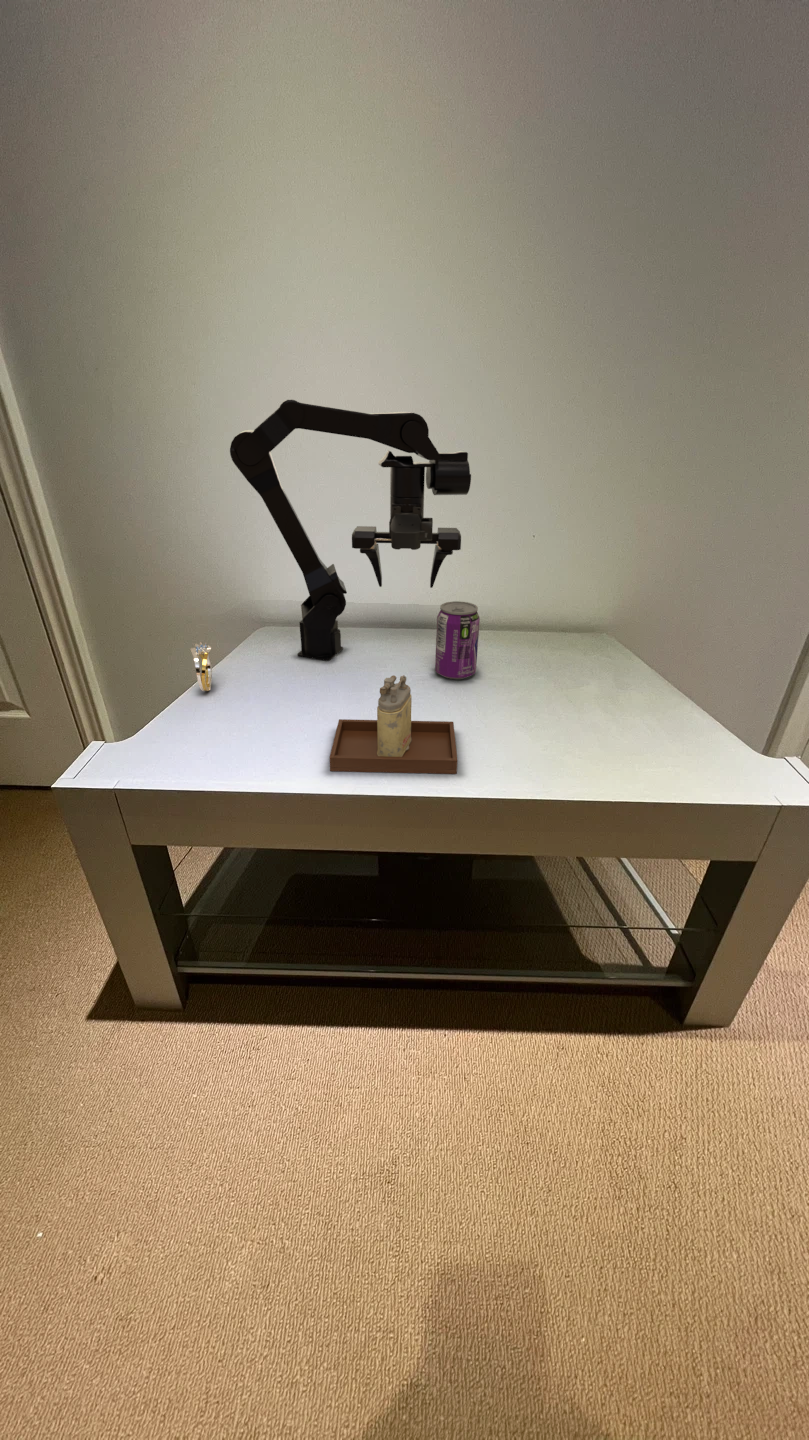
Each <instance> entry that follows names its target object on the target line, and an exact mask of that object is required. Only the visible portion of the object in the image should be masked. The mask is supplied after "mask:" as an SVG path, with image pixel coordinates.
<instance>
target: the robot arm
mask: <svg viewBox="0 0 809 1440" xmlns="http://www.w3.org/2000/svg"><path fill="white" fill-rule="evenodd" d="M298 429H299V430H300V429H301V430H306V431H313V432H321V433H325V434H326V433H328V434H332V435H341V436H347V437H352V438H353V437H354V438H359V439H368V440H371V441H373V442H376V443H379V444H382V445H383V446H387V447H390V448H392V449H396V450H399V451H401V452H404V453H408V454H415V455H416V456H417V457H420V458H423V459H424V460H428V461H414V458H413V457H412V455H394V453H393V452H392V451H391V450H386V453H385V454H384V456H383V457H381V458H380V460H378V462H377V463H378V466H380V467H381V468H389V469H390V470H389V471H390V472H389V474H390V477H389V483H390V484H389V485H390V487H389V490H390V491H389V495H390V496H389V506H390V507H389V508H390V509H389V511H390V512H389V513H390V514H389V516H390V518H389V522H388V531H377V526H374V525H373V526H372V525H371V526H367V525H364V526H363V525H358V526H356V527H355V528H354V529H353V532H352V534H351V548H352V549H356V550H357V549H359V553H360V554H364V555H366V557H367V558H368V560H369V562H370V564H371V566H372V569H373V572H374V575H375V578H376V580H377V584H378V586H379V588H382V587H383V574H382V565H381V556H380V546H379V544H391V548H392V549H393V550H401V549H403V550H404V549H405V550H406V549H407V550H409V549H410V550H412V551H416V550H419V549H421V545H434V550H433V558H432V563H431V564H432V565H431V571H430V577H429V578H430V579H429V587H430V589H431V588H433V587H434V585H435V581H436V579H437V576H438V574H439V570H440V568H441V566H442V564H443V562H444V560H445V558H446V557H447V556H450V555H451V556H452V555H453V553H454V551H461V550H462V549H461V548H462V534H461V531H460V530H459V529H458V528H457V527H437V532H433V528H434V527H433V523H434V522H433V520H434V519H433V517H424V515H425V514H424V513H425V486H426V488H427V490H431V493H432V495H433V496H466V495H468V494H469V491H470V488H471V484H472V483H471V482H472V473H471V469H470V468H471V467H470V463H469V460H468V459H469V453H468V452H467V451H464V450H461V451H460V450H458V451H455V452H439V451H438V450H437V447H436V446H435V445H434V443H433V441H432V440H431V438H430V437H429V436H430V434H429V433H430V432H429V429H430V428H429V426H428V423H427V421H426V420H425V418H424V417H423V416H422V415H421V414H418V413H417V412H416V413H415V412H409V411H391V412H372V413H371V412H370V413H367V412H361V411H355V410H349V409H343V408H336V407H330V406H323V405H318V404H312V403H305V402H300V401H297V400H295V399H286V400H284V401H282V403H280V405H279V407H278V408H277V409H276V410H274V412H272V413H271V414H270V415H269V416H268V417H267V418H266V419H264V420H263V421H262V422H261V423H260V424H258V426H257V427H255V428H254V429H245V430H242V431H240V432H239V433H237V434H236V435H235V436H234V437H233V439H232V441H231V442H230V446H229V447H230V448H229V454H230V458H231V461H232V462H233V464H234V465H235V467H236V468H237V470H239V472H240V474H242V476H243V477H244V478H245V479H246V481H247V482H248V484H249V485H251V487H252V488H253V489H254V490H255V491H256V492H257V494H258V495H259V496H260V498H261V499H262V501H263V502H264V505H265V507H266V508H267V510H268V512H269V514H270V516H271V517H272V519H273V521H274V523H275V525H276V526H277V528H278V531H279V532H280V534H281V536H282V538H283V539H284V541H285V543H286V545H287V547H288V549H289V550H290V552H291V554H292V556H293V558H294V560H295V562H296V563H297V565H298V567H299V569H300V571H301V572H302V575H303V578H304V579H303V580H304V582H305V585H306V588H307V591H308V594H309V595H308V596H307V598H306V599H305V600H304V601H303V602H302V603H301V604H300V610H301V619H302V620H300V621H299V637H300V649H301V650H300V651H299V652H298V653H297V657H299V658H305V659H312V660H317V661H324V662H329V661H331V660H333V658H335V657H336V656H337V655H338V654H339V653H340V652H341V651H343V650H344V649H343V648H344V647H343V646H342V637H341V635H342V633H341V629H339V622H338V620H337V618H338V617H339V616H340V615H342V614H343V612H344V611H345V609H346V605H347V600H346V596H345V595H346V594H347V592H348V591H347V588H346V585H345V583H344V581H343V580H342V579H341V578H340V576H338V575H339V574H338V573H337V569H336V566H335V564H334V563H332V564H331V565H329V566H328V567H327V566H326V564H325V563H324V562H323V561H322V559H321V558H320V557H319V555H318V553H317V550H316V549H315V547H314V545H313V543H312V541H311V539H310V537H309V535H308V533H307V531H306V530H305V528H304V525H303V524H302V522H301V520H300V518H299V517H298V514H297V512H296V509H295V508H294V506H293V504H292V503H291V501H290V499H289V497H288V495H287V493H286V490H285V489H284V487H283V485H282V482H281V480H280V477H279V473H278V470H277V467H276V464H275V461H274V457H273V455H272V451H273V450H274V449H275V448H276V447H278V445H279V444H281V443H282V442H283V441H284V440H285V439H286V438H287V437H288V436H289V435H290V434H291V433H292V432H294V430H298Z"/></svg>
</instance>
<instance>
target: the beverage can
mask: <svg viewBox="0 0 809 1440" xmlns="http://www.w3.org/2000/svg"><path fill="white" fill-rule="evenodd" d="M439 609H440V610H439V612H438V614H437V616H436V632H435V633H436V634H435V637H436V638H435V662H434V670H435V672H436V673H437V674H438V675H440V676H442V677H444V678H445V679H450V680H464V679H466V678H468V677H472V676H473V675H475V674H476V672H477V664H478V663H477V662H478V650H479V649H478V648H479V636H480V623H481V621H480V620H481V618H480V615H479V612H478V610H479V607H478V605H476V604H474V603H472V602H468V601H460V600H459V601H456V600H455V601H448V602H444V603H442V604H440V607H439Z"/></svg>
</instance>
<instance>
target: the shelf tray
mask: <svg viewBox="0 0 809 1440" xmlns="http://www.w3.org/2000/svg"><path fill="white" fill-rule="evenodd" d="M454 723H455V722H454V721H447V720H446V721H443V720H441V721H440V720H411V742H410V744H409V750H408V751H405V753H404V754H403V756H402V757H386V756H378V755H377V751H378V735H377V719H345V718H344V719H341V718H340V719H338V722H337V726H336V730H335V734H334V737H333V741H332V746H331V749H330V753H329V771H330V772H342V773H343V772H346V773H347V772H348V773H350V772H351V773H391V774H393V773H395V774H396V773H397V774H398V773H399V774H434V775H435V774H437V775H438V774H440V775H441V774H442V775H443V774H444V775H457V774H458V753H457V741H456V733H455V725H454Z"/></svg>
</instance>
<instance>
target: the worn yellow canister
mask: <svg viewBox="0 0 809 1440" xmlns="http://www.w3.org/2000/svg"><path fill="white" fill-rule="evenodd" d="M396 681H397V676H396V675H394V674H393V675H391V676H390V677H385V678H384V681H383V686H381V687H380V688H379V694H380V697H379V698H378V700H377V704H378V705H377V707H376V720H377V735H378V751H377V755H378V756H386V757H402V756H403V754H404V753H405V751H408V750H409V744H410V742H411V721H412V702H413V701H412V700H413V699H412V697H413V696H412V693H411V691H412V689H411V687H410V685H409V684H407V676H406V675H405V674H403V675H401V676H399V681H398V682H396ZM395 682H396V683H395Z"/></svg>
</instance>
